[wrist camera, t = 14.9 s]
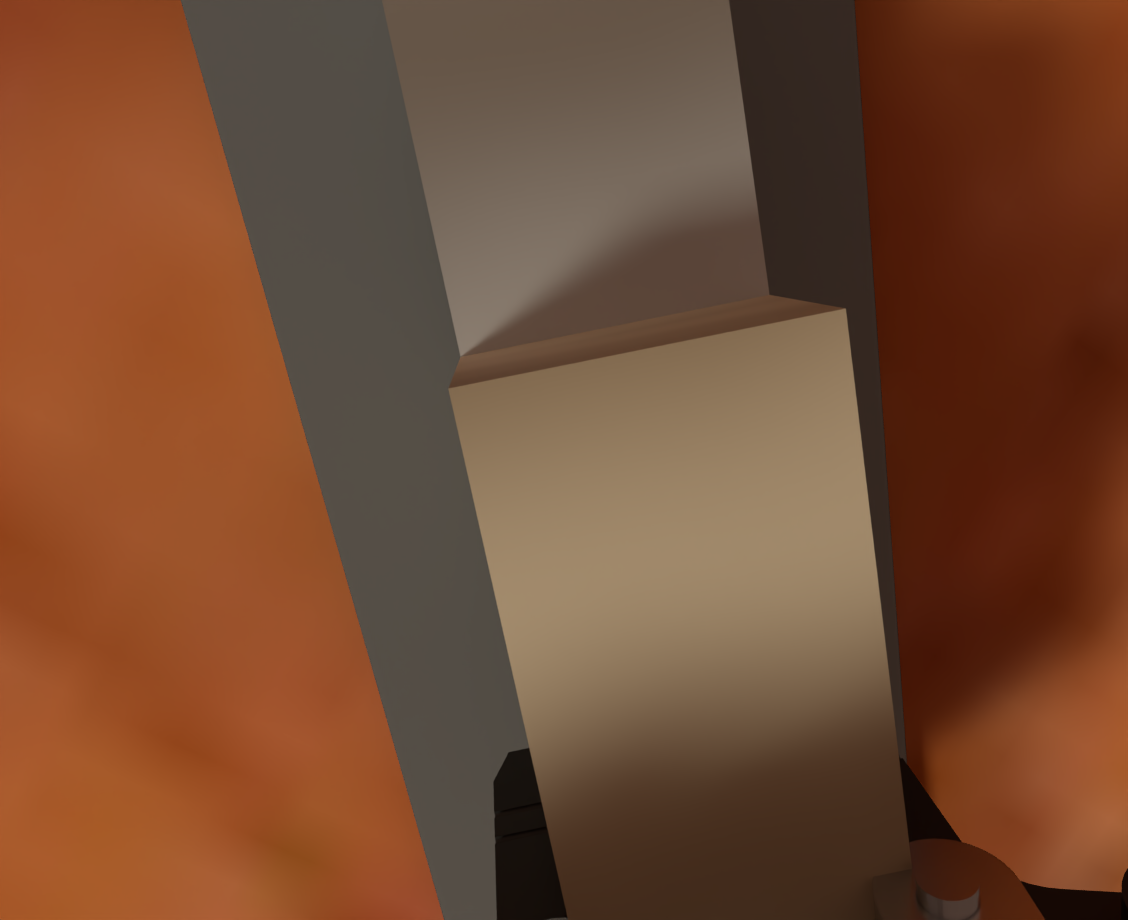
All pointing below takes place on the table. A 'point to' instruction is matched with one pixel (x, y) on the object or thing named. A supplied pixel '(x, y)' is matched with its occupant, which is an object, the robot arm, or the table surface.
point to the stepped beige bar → (656, 464)
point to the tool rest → (431, 354)
